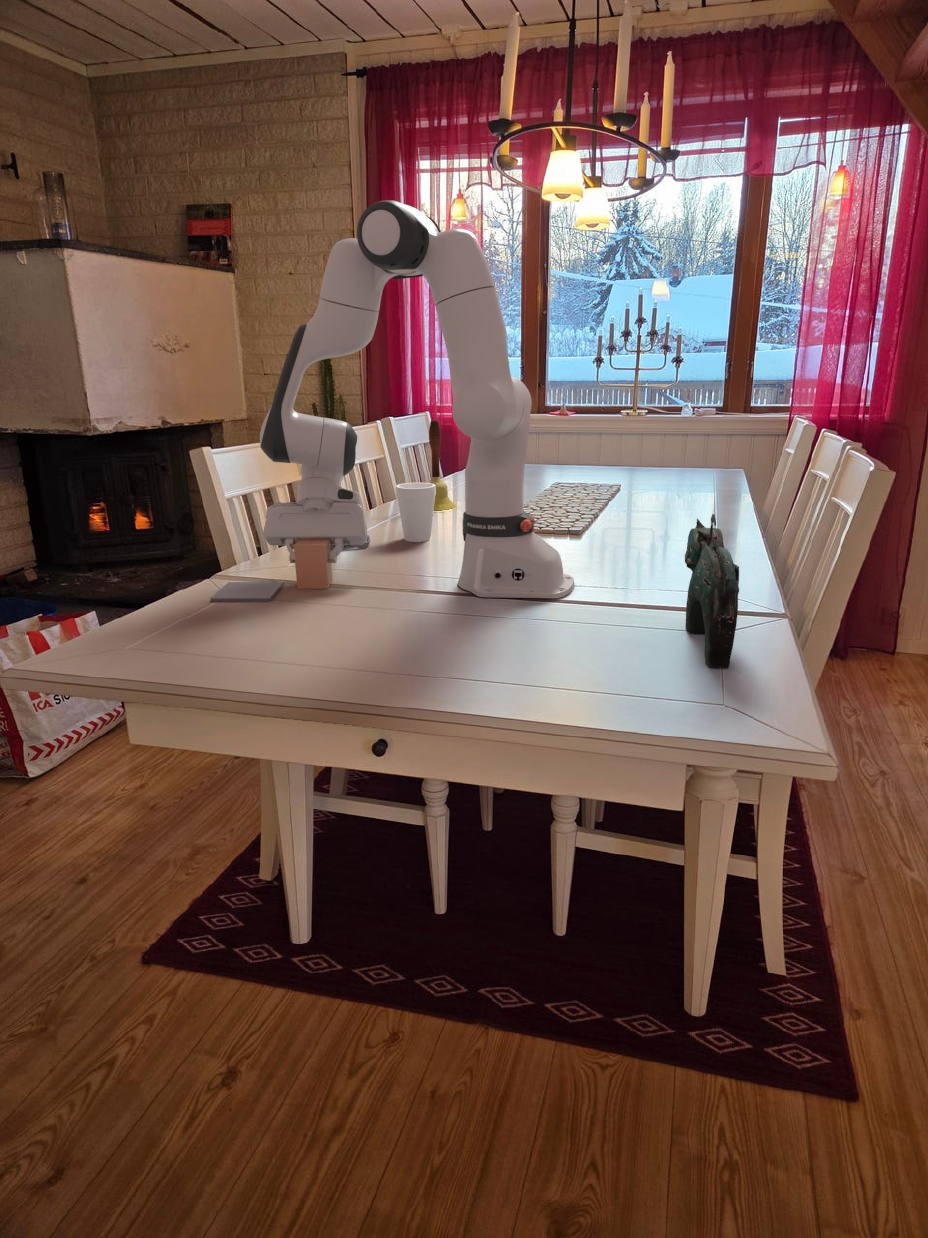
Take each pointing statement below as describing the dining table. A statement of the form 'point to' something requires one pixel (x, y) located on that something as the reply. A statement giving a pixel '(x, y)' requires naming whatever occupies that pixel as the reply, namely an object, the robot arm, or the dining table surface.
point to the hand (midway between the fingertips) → (312, 561)
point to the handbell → (441, 488)
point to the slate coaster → (247, 591)
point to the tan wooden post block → (313, 564)
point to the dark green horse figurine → (712, 593)
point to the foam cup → (416, 510)
